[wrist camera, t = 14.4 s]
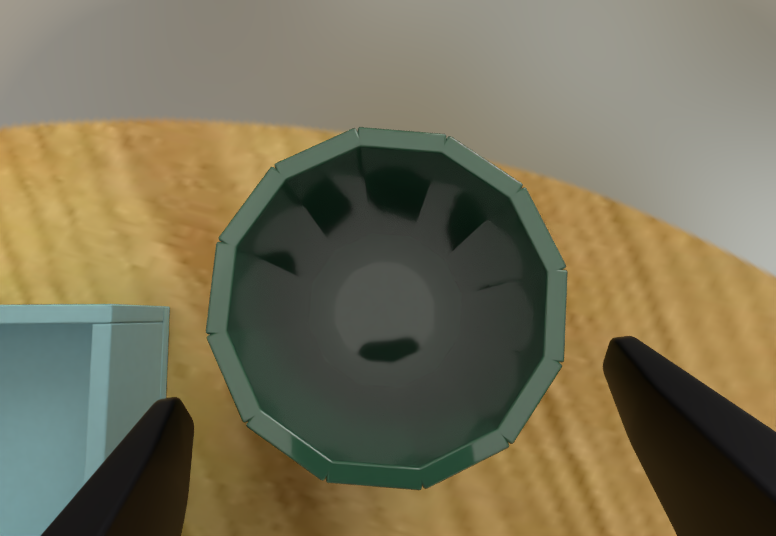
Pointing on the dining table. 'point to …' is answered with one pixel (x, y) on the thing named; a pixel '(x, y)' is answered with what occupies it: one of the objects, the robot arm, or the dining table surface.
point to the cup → (387, 308)
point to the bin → (70, 398)
